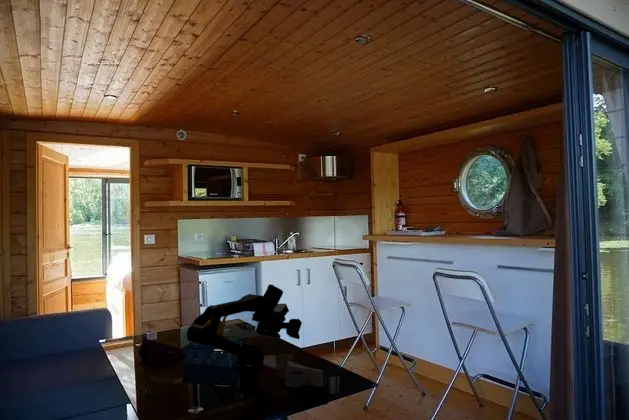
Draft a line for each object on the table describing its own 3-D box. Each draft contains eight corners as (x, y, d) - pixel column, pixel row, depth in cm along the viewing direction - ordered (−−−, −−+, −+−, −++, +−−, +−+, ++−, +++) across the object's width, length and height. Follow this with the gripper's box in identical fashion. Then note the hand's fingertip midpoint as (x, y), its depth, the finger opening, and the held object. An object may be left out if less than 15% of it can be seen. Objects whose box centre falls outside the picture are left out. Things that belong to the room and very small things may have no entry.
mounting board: (320, 387, 159) (320, 371, 159) (287, 380, 166) (287, 365, 166) (323, 385, 160) (322, 370, 160) (290, 379, 167) (289, 364, 167)
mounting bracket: (169, 366, 202) (135, 358, 190) (176, 347, 205) (143, 338, 193) (182, 370, 196) (147, 362, 184) (189, 351, 199) (155, 341, 187)
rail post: (283, 379, 168) (282, 357, 168) (276, 377, 169) (275, 356, 169) (287, 376, 170) (287, 355, 171) (280, 374, 172) (280, 353, 172)
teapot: (204, 333, 235) (204, 313, 235) (228, 333, 233) (228, 313, 234) (194, 340, 222) (193, 319, 222) (219, 341, 220) (218, 320, 220)
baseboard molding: (275, 356, 196) (253, 363, 188) (275, 350, 196) (253, 356, 188) (326, 374, 174) (303, 382, 166) (326, 366, 174) (303, 374, 166)
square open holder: (299, 388, 154) (298, 376, 154) (285, 385, 157) (284, 373, 157) (310, 381, 161) (310, 369, 161) (297, 378, 164) (297, 367, 164)
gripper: (295, 298, 168) (315, 319, 177) (257, 298, 178) (277, 319, 187) (286, 324, 161) (306, 346, 170) (246, 323, 171) (267, 343, 180)
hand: (289, 337), depth 177 cm, fingers open, 9 cm apart
